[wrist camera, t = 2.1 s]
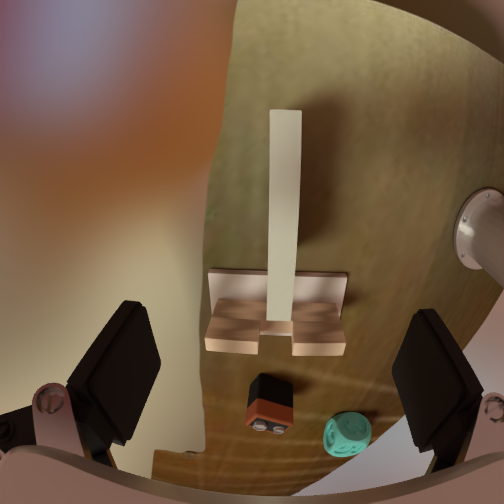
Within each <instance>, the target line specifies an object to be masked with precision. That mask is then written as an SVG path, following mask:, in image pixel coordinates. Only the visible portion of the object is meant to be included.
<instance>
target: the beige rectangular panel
mask: <svg viewBox="0 0 504 504" xmlns="http://www.w3.org/2000/svg"><path fill="white" fill-rule="evenodd" d="M301 133H302V111H300V110H270V184H269V244H268V285H267V318H266V320H270V321H291V313H292V302H293V290H294V278H295V265H296V251H297V235H298V218H299V197H300V172H301Z"/></svg>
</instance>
